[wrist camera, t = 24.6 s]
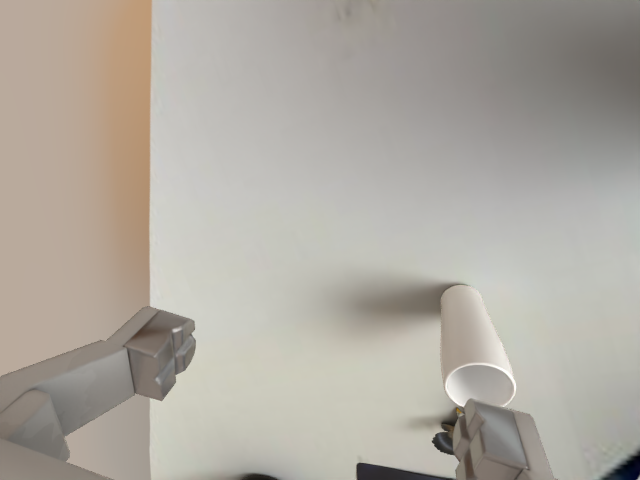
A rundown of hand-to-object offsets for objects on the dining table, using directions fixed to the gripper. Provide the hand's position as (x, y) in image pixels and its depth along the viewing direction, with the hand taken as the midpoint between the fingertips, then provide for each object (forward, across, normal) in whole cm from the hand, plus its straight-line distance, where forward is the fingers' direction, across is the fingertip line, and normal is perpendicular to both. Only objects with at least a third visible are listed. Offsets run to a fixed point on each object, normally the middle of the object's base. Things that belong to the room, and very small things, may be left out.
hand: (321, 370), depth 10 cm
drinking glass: (+35, -14, +19) cm, 42 cm away
